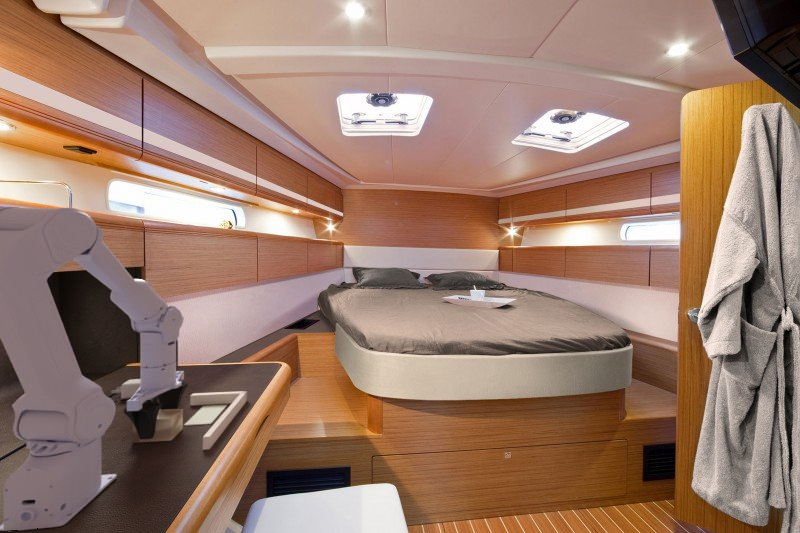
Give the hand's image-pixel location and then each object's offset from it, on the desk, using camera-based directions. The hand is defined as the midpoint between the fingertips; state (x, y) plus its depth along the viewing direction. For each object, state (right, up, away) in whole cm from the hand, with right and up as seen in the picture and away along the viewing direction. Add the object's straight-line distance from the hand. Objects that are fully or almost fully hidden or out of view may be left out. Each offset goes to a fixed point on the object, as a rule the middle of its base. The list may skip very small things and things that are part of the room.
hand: (158, 427), depth 62 cm
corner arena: (+5, -2, +5) cm, 7 cm away
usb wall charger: (-22, -1, +17) cm, 28 cm away
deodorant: (-11, -1, +16) cm, 19 cm away
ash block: (0, -2, 0) cm, 2 cm away
